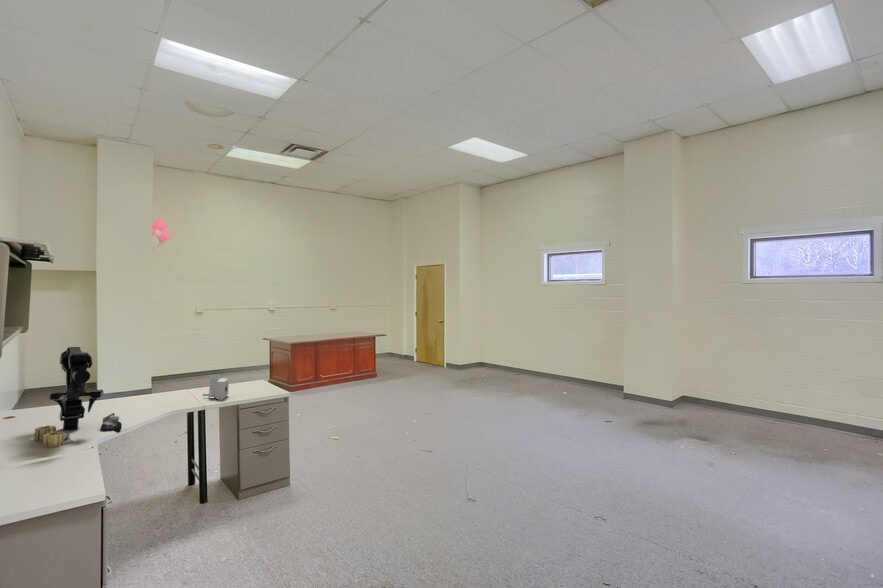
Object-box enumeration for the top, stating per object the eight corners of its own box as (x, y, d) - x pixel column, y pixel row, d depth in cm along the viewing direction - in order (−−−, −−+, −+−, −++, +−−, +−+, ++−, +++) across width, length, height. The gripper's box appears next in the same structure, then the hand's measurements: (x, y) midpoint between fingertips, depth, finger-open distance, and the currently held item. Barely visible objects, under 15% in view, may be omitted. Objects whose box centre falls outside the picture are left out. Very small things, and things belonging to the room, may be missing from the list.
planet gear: (38, 447, 187) (39, 436, 187) (50, 442, 194) (50, 431, 194) (57, 447, 188) (57, 436, 188) (67, 442, 195) (68, 431, 195)
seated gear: (32, 438, 197) (33, 427, 198) (52, 435, 203) (53, 424, 203) (37, 442, 194) (37, 430, 194) (57, 438, 199) (57, 427, 199)
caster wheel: (111, 439, 213) (93, 434, 214) (130, 428, 224) (113, 423, 225) (111, 427, 211) (93, 422, 212) (130, 416, 222) (113, 412, 223)
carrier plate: (34, 442, 197) (34, 430, 198) (62, 437, 206) (63, 425, 206) (46, 451, 187) (47, 439, 187) (75, 445, 195) (76, 434, 195)
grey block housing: (223, 400, 289) (224, 377, 289) (200, 400, 286) (201, 377, 286) (228, 396, 301) (229, 374, 301) (205, 396, 298) (206, 374, 298)
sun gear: (48, 440, 197) (48, 434, 197) (66, 436, 202) (67, 431, 202) (52, 443, 193) (53, 437, 193) (71, 439, 199) (71, 434, 199)
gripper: (46, 383, 194) (44, 418, 193) (98, 382, 202) (96, 415, 201) (55, 379, 204) (53, 412, 204) (104, 377, 212) (102, 409, 212)
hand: (76, 412), depth 205 cm, fingers open, 9 cm apart
